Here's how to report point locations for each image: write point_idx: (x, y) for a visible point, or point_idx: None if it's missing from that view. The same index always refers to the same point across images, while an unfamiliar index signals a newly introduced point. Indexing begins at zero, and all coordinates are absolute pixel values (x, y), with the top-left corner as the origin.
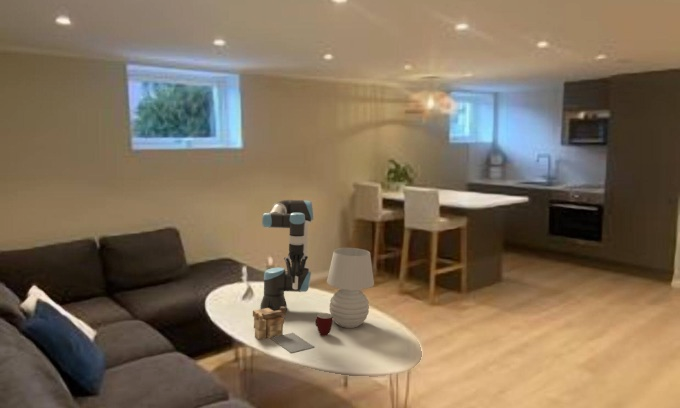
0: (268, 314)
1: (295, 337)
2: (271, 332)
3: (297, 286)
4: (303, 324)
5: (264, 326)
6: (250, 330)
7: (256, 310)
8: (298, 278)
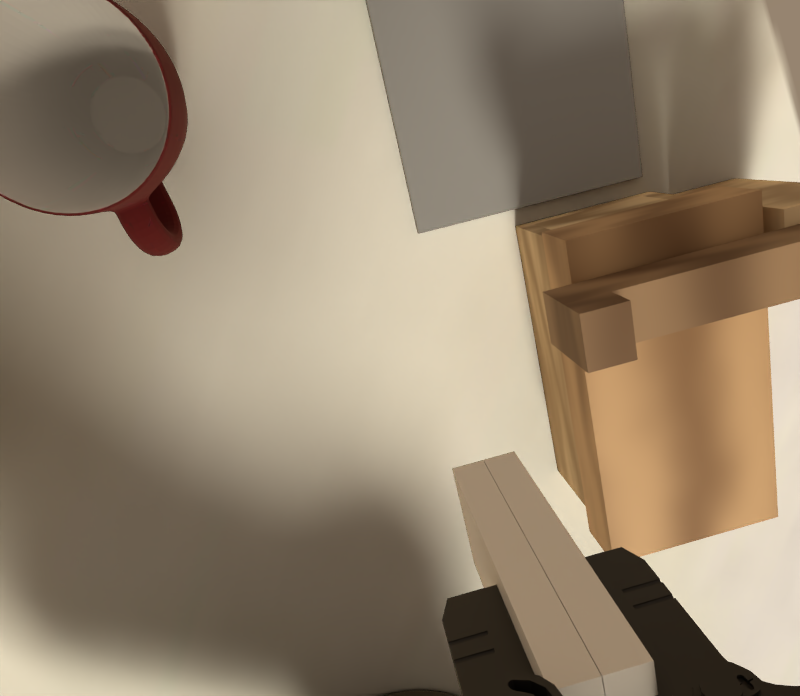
0: (785, 242)
1: (433, 111)
2: (643, 201)
3: (473, 499)
4: (262, 412)
5: None
6: None
7: (746, 513)
8: (489, 677)
